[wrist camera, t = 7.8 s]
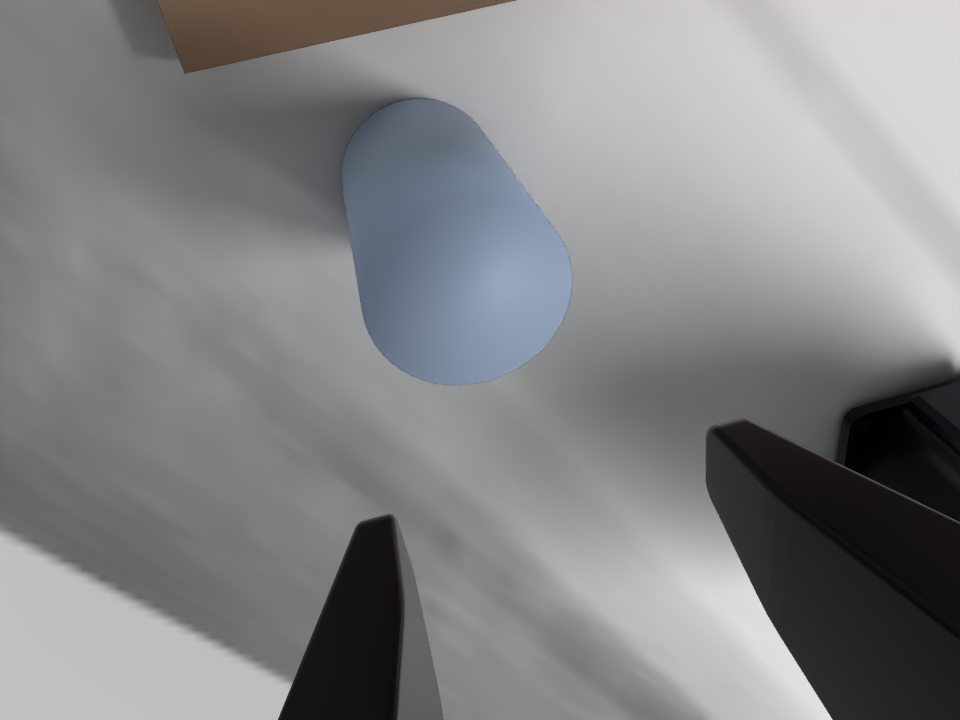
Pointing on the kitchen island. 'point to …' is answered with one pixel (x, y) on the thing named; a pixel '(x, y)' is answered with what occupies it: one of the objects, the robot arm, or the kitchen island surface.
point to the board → (286, 24)
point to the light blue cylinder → (449, 247)
